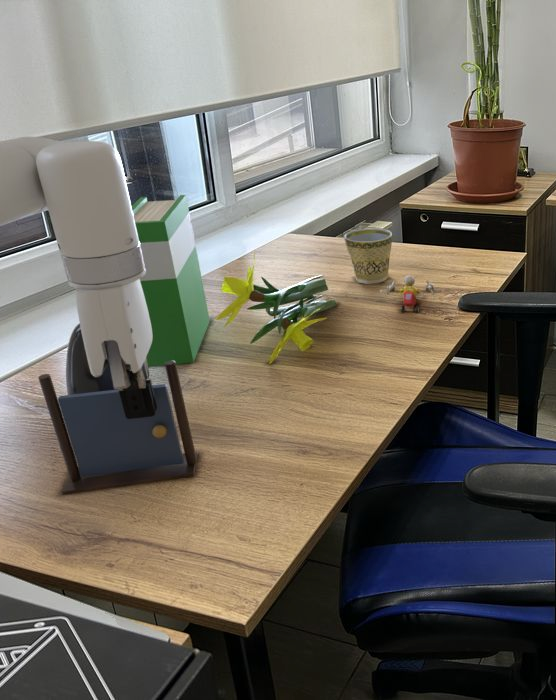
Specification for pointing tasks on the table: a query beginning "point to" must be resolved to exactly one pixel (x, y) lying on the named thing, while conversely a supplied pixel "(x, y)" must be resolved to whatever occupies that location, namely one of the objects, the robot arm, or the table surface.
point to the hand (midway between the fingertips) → (142, 414)
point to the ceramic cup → (369, 253)
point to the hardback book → (171, 280)
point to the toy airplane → (410, 293)
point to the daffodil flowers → (275, 299)
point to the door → (119, 433)
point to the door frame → (126, 477)
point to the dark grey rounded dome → (83, 369)
